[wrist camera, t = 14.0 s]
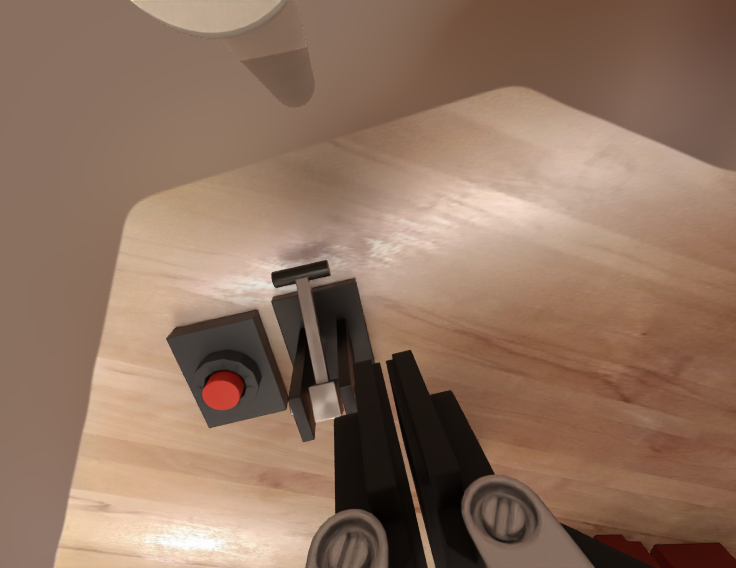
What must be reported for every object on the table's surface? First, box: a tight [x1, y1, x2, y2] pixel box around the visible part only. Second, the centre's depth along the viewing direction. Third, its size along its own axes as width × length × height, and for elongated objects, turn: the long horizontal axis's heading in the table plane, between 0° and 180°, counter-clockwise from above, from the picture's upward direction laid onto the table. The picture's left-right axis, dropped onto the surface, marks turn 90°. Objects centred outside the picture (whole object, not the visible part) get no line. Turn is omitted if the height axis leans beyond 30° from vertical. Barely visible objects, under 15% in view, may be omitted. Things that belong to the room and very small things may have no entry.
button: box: [202, 370, 244, 410], centre depth 35 cm, size 4×4×2 cm
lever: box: [271, 260, 344, 422], centre depth 30 cm, size 13×5×2 cm
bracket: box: [271, 279, 375, 442], centre depth 33 cm, size 12×9×13 cm
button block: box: [166, 310, 288, 428], centre depth 38 cm, size 12×9×4 cm
